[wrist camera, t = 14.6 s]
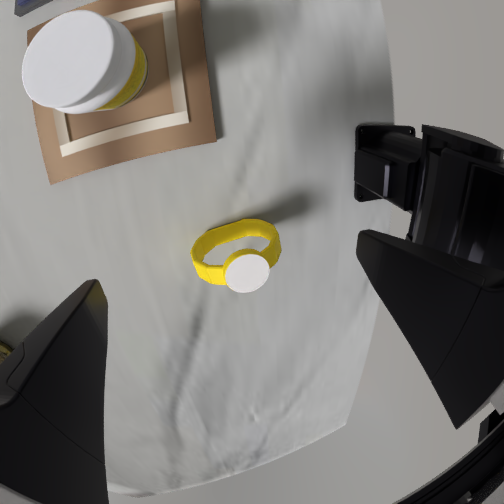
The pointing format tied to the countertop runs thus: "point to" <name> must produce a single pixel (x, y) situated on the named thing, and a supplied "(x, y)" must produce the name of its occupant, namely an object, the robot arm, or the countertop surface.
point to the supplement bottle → (84, 64)
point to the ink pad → (27, 6)
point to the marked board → (147, 101)
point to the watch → (238, 255)
